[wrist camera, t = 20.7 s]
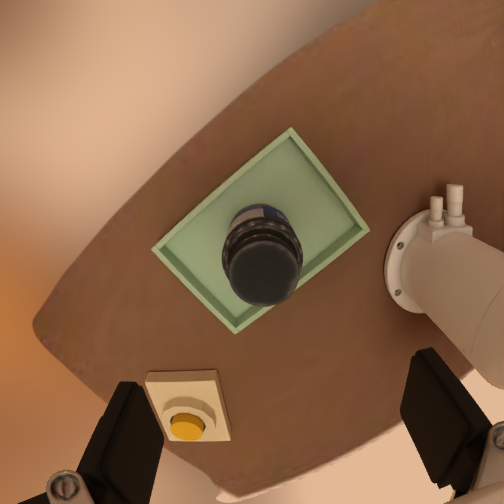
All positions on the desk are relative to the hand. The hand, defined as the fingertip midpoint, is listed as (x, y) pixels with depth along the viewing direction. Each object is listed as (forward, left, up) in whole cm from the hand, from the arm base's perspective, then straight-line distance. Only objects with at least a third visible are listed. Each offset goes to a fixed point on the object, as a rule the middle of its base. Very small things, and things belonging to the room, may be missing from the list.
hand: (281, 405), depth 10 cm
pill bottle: (0, 0, -23) cm, 23 cm away
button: (+22, -12, -20) cm, 32 cm away
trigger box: (+23, -12, -23) cm, 34 cm away
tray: (0, 0, -23) cm, 23 cm away
